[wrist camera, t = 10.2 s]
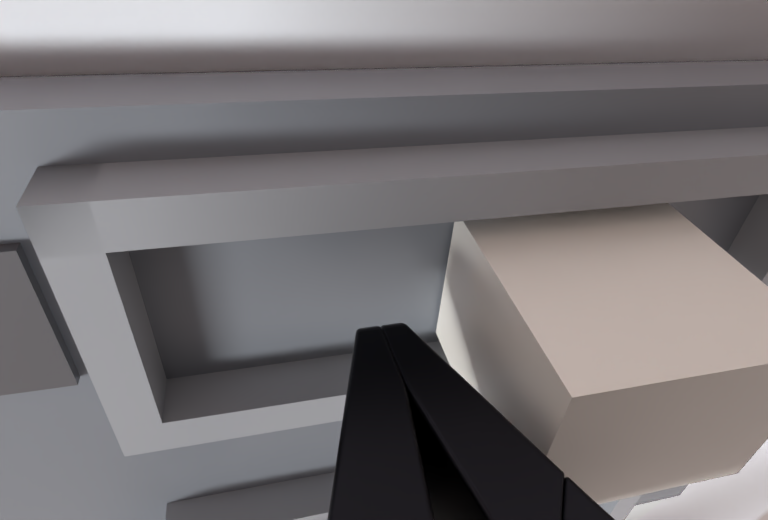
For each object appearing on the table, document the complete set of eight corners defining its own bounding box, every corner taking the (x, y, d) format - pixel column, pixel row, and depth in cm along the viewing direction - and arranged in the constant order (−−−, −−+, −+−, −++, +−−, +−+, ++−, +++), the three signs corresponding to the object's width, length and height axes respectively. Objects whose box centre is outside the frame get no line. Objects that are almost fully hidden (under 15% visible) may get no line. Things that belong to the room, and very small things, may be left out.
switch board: (660, 466, 21) (697, 520, 20) (82, 590, 17) (67, 674, 15) (943, 56, 11) (1067, 95, 10) (-284, 83, 7) (-447, 166, 5)
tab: (606, 308, 12) (738, 473, 9) (435, 332, 11) (517, 522, 8) (656, 193, 10) (843, 350, 7) (456, 210, 9) (571, 397, 6)
